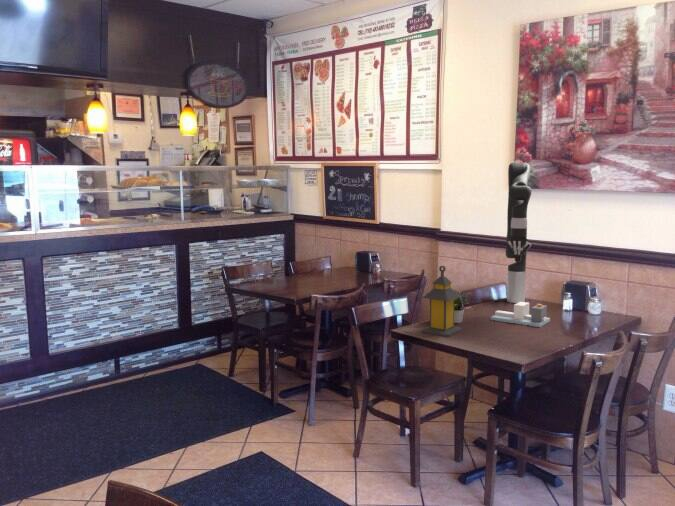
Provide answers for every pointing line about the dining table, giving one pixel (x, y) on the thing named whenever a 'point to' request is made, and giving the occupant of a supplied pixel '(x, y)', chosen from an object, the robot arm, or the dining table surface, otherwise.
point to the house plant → (457, 310)
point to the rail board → (524, 322)
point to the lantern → (442, 307)
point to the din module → (521, 310)
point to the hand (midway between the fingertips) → (517, 262)
